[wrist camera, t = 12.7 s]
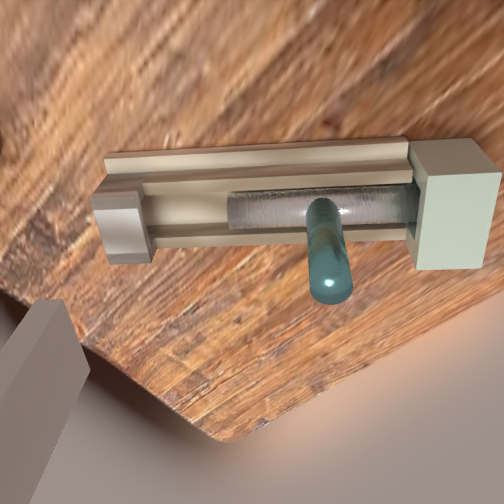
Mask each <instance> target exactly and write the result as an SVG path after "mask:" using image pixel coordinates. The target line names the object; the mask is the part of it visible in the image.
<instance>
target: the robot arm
mask: <svg viewBox="0 0 504 504" xmlns="http://www.w3.org/2000/svg"><path fill="white" fill-rule="evenodd" d="M89 372H90V368H89V365H88V363H87V360H86V358H85V355H84V353H83V350H82V347H81V345H80V342H79V340H78V337H77V334H76V332H75V329H74V327H73V324H72V322H71V319H70V316H69V314H68V311H67V309H66V306H65V304H64V301H63V299H56V300H36V301H35V302H34V304H33V305H32V307H31V308H30V310H29V311H28V313H27V314H26V315H25V317H24V318H23V320H22V321H21V323H20V324H19V326H18V327H17V328H16V330H15V331H14V333H13V334H12V336H11V337H10V338H9V340H8V341H7V343H6V344H5V346H4V347H3V349H2V350H1V352H0V504H29V503H30V500H31V498H32V496H33V494H34V492H35V489H36V487H37V485H38V483H39V481H40V479H41V476H42V474H43V472H44V470H45V468H46V466H47V463H48V461H49V459H50V457H51V454H52V452H53V450H54V448H55V446H56V444H57V441H58V439H59V437H60V435H61V433H62V431H63V428H64V426H65V424H66V422H67V420H68V417H69V415H70V413H71V411H72V409H73V407H74V404H75V402H76V400H77V398H78V395H79V393H80V391H81V389H82V387H83V385H84V382H85V380H86V378H87V376H88V374H89Z"/></svg>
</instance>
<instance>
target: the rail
mask: <svg viewBox="0 0 504 504" xmlns="http://www.w3.org/2000/svg"><path fill="white" fill-rule="evenodd" d="M408 143H409V142H408V140H407V139H406V137H405V136H400V137H382V138H365V139H347V140H330V141H313V142H295V143H278V144H261V145H243V146H226V147H208V148H191V149H174V150H156V151H139V152H122V153H109V154H108V155H107V156H106V157H105V159H104V162H105V166H106V169H107V173H108V175H107V176H106V177H105V179H104V180H103V181H102V182H101V184H100V185H99V186H98V188H97V189H96V190H95V192H94V193H93V194H92V196H91V197H90V201H91V205H92V208H93V211H94V215H95V218H96V221H97V225H98V228H99V231H100V234H101V238H102V241H103V244H104V248H105V251H106V254H107V258H108V261H109V264H110V265H112V264H142V263H151V262H152V259H153V257H154V255H155V252H156V250H157V249H160V248H188V247H215V246H243V245H270V244H298V243H307V231H306V227H284V228H259V229H234V230H230V229H229V225H228V219H227V195H228V193H241V192H262V191H283V190H304V189H325V188H346V187H367V186H388V185H404V183H412V175H413V169H412V167H411V165H410V163H409V161H408V159H407V153H408ZM342 229H343V234H344V239H345V242H353V241H380V240H405V239H406V230H407V228H406V226H405V223H385V224H360V225H342Z"/></svg>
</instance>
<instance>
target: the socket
mask: <svg viewBox="0 0 504 504" xmlns="http://www.w3.org/2000/svg"><path fill="white" fill-rule="evenodd" d="M408 142H409V143H408V153H407V159H408V161H409V163H410V165H411V167H412V169H413V175H412V183H404V185H409V184H418V186H419V188H420V190H421V193H420V202H419V210H418V218H417V222H410V223H405V226H406V228H407V230H406V239H405V243H406V245H407V248H408V251H409V253H410V256H411V258H412V261H413V264H414V266H415V269H416V270H440V269H473V268H481V267H482V262H483V258H484V253H485V249H486V244H487V240H488V235H489V231H490V226H491V222H492V217H493V213H494V208H495V204H496V199H497V195H498V190H499V185H500V181H501V176H502V171H501V170H500V169H499V168H498V167H497V166H496V165H495V164H494V163H493V161H492V160H491V159H490V158H489V157H488V156H487V155H486V154H485V153H484V151H483V150H482V149H481V148H480V147H479V146H478V145H477V144H476V143H475V142H474V140H473V139H472V138H458V139H440V140H422V141H408Z"/></svg>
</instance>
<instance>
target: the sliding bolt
mask: <svg viewBox="0 0 504 504" xmlns="http://www.w3.org/2000/svg"><path fill="white" fill-rule="evenodd" d="M420 193H421V190H420V188H419V186H418V184H409V185H388V186H367V187H346V188H325V189H304V190H283V191H262V192H241V193H228V195H227V219H228V225H229V229H230V230H234V229H259V228H284V227H306V231H307V248H308V264H309V281H310V292H311V295H312V296H313V298H314V299H315V300H317V301H318V302H320V303H323V304H328V305H334V304H338V303H341V302H343V301H345V300H346V299H348V298H349V296H350V295H351V293H352V291H353V283H352V278H351V272H350V267H349V261H348V256H347V250H346V245H345V239H344V234H343V229H342V225H360V224H385V223H410V222H417V218H418V210H419V202H420Z"/></svg>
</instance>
